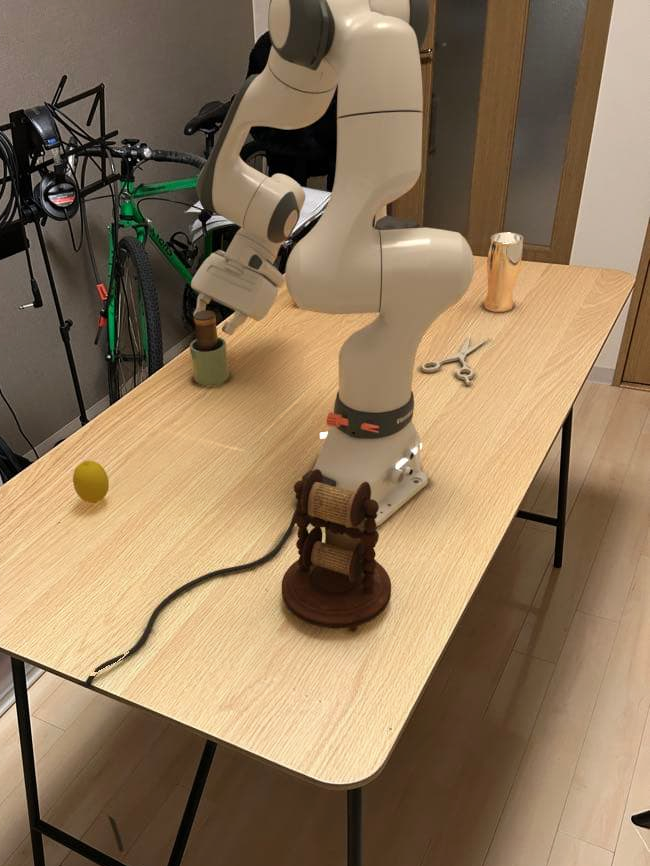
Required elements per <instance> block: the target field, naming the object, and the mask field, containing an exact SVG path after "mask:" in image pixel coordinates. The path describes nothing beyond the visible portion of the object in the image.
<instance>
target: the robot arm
mask: <svg viewBox="0 0 650 866" xmlns="http://www.w3.org/2000/svg"><path fill="white" fill-rule="evenodd" d="M430 9H431V8H430V3H429V0H269V5H268V14H267V15H268V17H267V19H268V20H267V23H268V24H267V25H268V27H267V28H268V35H269V40H270V43H271V46H270V51H269V55H268V59H267V62H266V65H265V67H264V69H263V70H262V71H261V73H255V74H251V75H250V76H248V77H247V79H245V81H244V82H243V83H242V84H241V86H240V87H239V89H238V90H237V92H236V93H235V96H234V98H233V100H232V102H231V105H230V107H229V109H228V111H227V113H226V115H225V118H224V120H223V122H222V125H221V127H220V130H219V132H218V135H217V137H216V139H215V141H214V145H213V147H212V149H211V152H210V154H209V156H208V158H207V160H206V162H205V164H204V165H203V167H202V168H201V171H200V172H199V175H198V177H197V180H196V181H197V182H196V184H195V191H196V194H197V198H198V200H199V203H200V205H201V207H202V208H203V209H204V210H207V211H209V212H210V213H212V214H215V215H218V217H219V216H221V217H223V218H224V219H225V220H227V221H229V222H231V223H233V224H235V225H236V226H238V227H239V229H238V230H237V232H236V233H235V234H234V236H233V238H232V240H231V242H230V243H229V245H228V247H227V249H226V251H224V250H222V249H217V250H216V251H214V252H211V254H210V255H209V256H208V257H207V258H205V260H204V261H203V262H202V263H201V265H200V267H199V268H198V269H197V270H196V273H195V274H194V275H193V277H192V279H191V280H190V281H191V282H190V288H191V289H193V290H194V291H195V292H196V293H198V296H197V299H196V308H195V310H194V312H193V314H192V316H193V317H194V314H195V313H197V312H199V311H204V310H207V309H206V308H207V305H209V304H210V302H211V301H214V302H216V303H218V304H220V305H222V306H225V307H226V308H228V309H231V310H233V311H235V312H234V313H233V315H234V317H232V318H231V319H230V321H225V322H224V324H223V326H222V328H221V331H222V332H224V333H225V334H226V335H228V336H233V334H234V333H235V330H236V329H237V328H239V327H240V326H241V325H242V324H244V323H245V322H246V321H247V320H248V318H250V319H252V320H254V321H256V322H260V321H262V320H264V319H265V318H266V317H267V316H268V314H269V312H270V310H271V308H272V306H273V305H274V303H275V300H276V299H277V296H278V293H279V289H278V288H282V287H283V286H284V284H286V288H287V289H286V290H287V291H288V294H289V296H290V298H291V300H292V301H293V302H294V304H295V305H296V306H297V307H298V309H300V310H301V311H307V312H310V313H311V312H312V313H317V314H323V315H325V314H326V315H330V316H331V315H332V316H333V315H334V316H336V315H355V314H356V315H357V314H376V313H377V314H379V315H378V316H377V317H376V318H375V319H374V320H373V321H371V323H369V324H367V325H365V326H364V327H361V328H360V329H357V330H356V331H354V332H353V333H351V335H349V336H348V338H347V339H346V340H345V341H344V342H343V343H342V346H341V347H340V350H339V353H338V390H337V392H336V396H335V400H334V403H333V412H332V411H330V412H329V413H328V414H327V416H326V421H325V423H326V425H327V426H329V428H328V431H325V432H319V439H324V441H323V444H322V446H321V447H320V450H319V454H318V456H317V458H316V461H315V463H314V466H313V468H312V469H310V470H309V471H308V472H306V473H305V474H303V475H302V476H301V481H305V480H306V478H307V477H308V475H309V474H310V473H311V472H312V471H313V470H315V469H319V470H320V471H321V473H322V479H323V480H322V483H323V484H326V485H330V486H334V487H338V488H341V489H345V490H349V491H353V492H357V490H358V488H359V486H360V485H361V484H362V483H363V482H368V483H369V485H370V488H371V499H373V500H375V501H376V502H377V503H378V505H379V510H378V512H377V518H375V522H376V525H377V527H380V526H381V525H382V524H383V523H384V522H385V521H387V520H388V519H389V518H390V517H391V516H393V514H394V513H396V512H397V511H398V510H400V508H402V507H403V506H404V505H405V504H406V503H407V502H409V501H410V500H411V499H412V498H413V497H414V496H415V495H417V493H419V492H420V491H422V490H423V488H425V487H426V486H427V485H428V483H429V480H428V475H427V474H426V473H425V472H424V471H423V470H421V449H422V447H423V443H421V436H420V434H419V432H418V431H417V429H416V427H415V425H414V423H413V420H412V419H413V417H414V410H415V399H414V397H415V396H414V392H413V390H412V389H413V377H414V369H415V363H416V357H417V352H418V349H419V346H420V344H421V342H422V340H423V338H424V336H425V334H426V333H427V332H428V330H429V328H430V327H431V326H432V325H433V324H434V322H435V321H436V320H437V319H439V317H440V316H441V315H442V314H443V313H445V312H446V311H447V310H449V309H450V308H452V307H453V306H455V305H457V304H458V303H459V302H460V301H461V300H462V299H463V297H464V296H466V293H467V292H468V290H469V288H470V286H471V284H472V281H473V279H474V278H473V277H474V273H475V260H474V254H473V252H472V248H471V246H470V244H469V243H468V241H467V239H466V238H465V237H464V236H463V235H462V234H461V233H460V232H458V231H452V230H446V229H440V228H433V227H420V228H409V229H392V230H378V229H374V226H373V223H374V220H375V215H376V213H377V211H378V210H379V209H380V208H382V207H383V206H385V205H386V206H388V205H389V204H391V203H393V202H394V201H396V200H398V199H400V198H401V197H402V196H404V195H405V194H407V193H408V192H409V191H411V189H412V188H413V187H415V185H416V184H417V182H418V180H419V178H420V176H421V172H422V160H423V159H422V157H423V153H422V151H423V119H424V118H423V117H424V116H423V115H424V113H423V112H424V109H423V108H424V101H423V100H424V95H423V78H422V77H423V74H422V64H421V57H420V51H421V49H422V47H423V45H424V43H425V41H426V38H427V36H428V32H429V28H430V19H431V17H430V16H431V13H430V12H431V10H430ZM336 90H337V98H336V99H337V101H336V159H335V160H336V161H335V172H334V173H335V174H334V181H333V187H332V191H331V195H330V197H329V200H328V202H327V205H326V207H325V209H324V211H323V213H322V215H321V216H320V218H319V219H318V221H317V223H316V224H315V225H314V226H313V227H312V228H311V230H310V231H309V232H308V233H307V234H306V235H305V236H304V237H301V239H300V240H299V241H298V242H297V243H296V244H295V245H294V247H293V248H292V250H291V252H290V253H289V255H288V257H287V261H286V265H285V272H284V273H285V274H284V275H285V276H284V275H283V274H282V273H281V271H279V270H278V268H277V267H276V266H275V265H274V263H275V262H276V259H277V257H278V253H279V250H280V249H281V246H282V245H283V244H284V243H285V242H286V241H287V240H289V238H290V237H291V235H292V233H293V232H294V230H295V228H296V226H297V225H298V222H299V220H300V217H301V211H302V209H303V206H304V203H305V201H306V192H305V190H304V188H303V187H302V186H301V184H300V183H298V181H297V180H295V179H294V178H292V177H291V176H289V175H287V174H284V173H274V174H273V175H271V177H269V176H268V175H265V174H264V173H262V172H261V171H259V170H257V169H255V168H254V167H252V166H250V165H248V164H247V163H246V162H245V161H244V160H243V159H242V158H241V155H240V153H241V151H242V149H243V147H244V144H245V142H246V139H247V137H248V136H249V133H250V132H251V131H250V130H251V128H252V127H268V128H275V129H280V130H297V129H301V128H306V127H308V126H311V125H312V124H315V122H317V121H319V120H320V119H321V118H322V117H323V116H324V115H325V114H326V112H327V110H328V108H329V106H330V104H331V103H332V100H333V98H334V96H335V92H336ZM296 511H297V509H296V508H295V510H294V512H293V514H292V517H291V520H290V524H289V526H288V528H287V529H286V531H285V533H284V534H283V536H282V537H281V539H280V541H279V543H278V544H277V546H275V547H274V548H273V549H272V550H271V551H270V552H269V553H267V554H266V555H264V556H262V557H261V558H259V559H257V560H254V561H251V562H248V563H245V564H241V565H236V566H232V567H225V568H221V569H217V570H214V571H211V572H209V573H206V574H203V575H202V576H199V577H197V578H195V579H193V580H191V581H189V582H187V583H185V584H183V585H181V586H180V587H179V588H177V589H175V590H174V591H173V592H172V593H170V594H169V595H168V596H166V597H165V599H163V600H162V601H161V602H160V603H159V604H158V605H157V606H156V607H155V609H154V610H153V612H151V615H150V618H149V620H148V622H147V624H146V627H145V629H144V630H143V631H144V632H143V633H142V635H141V637H140V638H139V639H138V641H137V642H136V643H135V644H134V646H133V647H131V648H130V649H129V650H127V651H126V652H128V651H129V653H128V654H127V655H126V656H125V657H124V658H123V659H121V660H120V661H118V660H119V659H120V658H122V657H123V656H124V653H122V654H120V655H118V656H117V655H116V657H113V658H111V659H109V660H106V661H105V662H103V663H101V664H100V665H98V666H97V667H96V668H94V670H95V671H94V670H93V671H94V672H98V671H99V670H101V669H103V668H105V667H106V666H108V665H110V666H108V667H111V666H113V665H114V664H113V663H115V662H116V663H115V664H117V663H119V662H121V661H123V660H124V661H125V660H126V659H128V658H129V657H131V656H132V655H134V654H135V653H136V652H138V650H139V649H140V648H141V647H142V646H143V645H144V643H145V642H146V641H147V639H148V637H149V635H150V633H151V631H152V628H153V625H154V623H155V621H156V619H157V617H158V615H159V614H160V612H161V611H162V610H163V609H164V608H165V606H166V605H167V604H169V603H170V602H171V601H172V600H174V598H176V597H178V595H180V594H181V593H183V592H184V591H186V590H188V589H190V588H191V587H193V586H195V585H198V584H200V583H202V582H205V581H207V580H209V579H211V578H214V577H217V576H220V575H224V574H229V573H235V572H239V571H240V572H241V571H244V570H248V569H251V568H255V567H257V566H259V565H261V564H264V563H265V562H266V561H268V560H270V559H271V558H272V557H274V556H275V555H276V554H278V553H279V551H281V549H282V547H283V546H284V545H285V543H286V542H287V540H288V539H289V537H290V535H292V532H293V530H294V528H295V525H296V523H295V522H294V515H295V513H296ZM323 520H324V519H323ZM117 661H118V662H117ZM111 664H112V665H111ZM108 667H107V668H108ZM105 669H106V668H105ZM103 670H104V669H103ZM97 675H98V674H96V675H95V676H90V674H89V676H88V677H87V678H86V680H85V682H84V683H83V688H89V687H90V686H91V684H92V682H93V681H94V679H95V678H96V677H97ZM107 817H108V821H109V823H110V825H111V829H112V833H113V835H114V838H115V841H116V845H117V849H118V851H119V852H120V853H122V852H124V850H125V849H124V846H123V841H122V838H121V835H120V832H119V829H118V825H117V822H116V820H115V819H114V818H113V817H112V816H111V815H109V814H107Z"/></svg>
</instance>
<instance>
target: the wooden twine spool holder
mask: <svg viewBox="0 0 650 866" xmlns="http://www.w3.org/2000/svg"><path fill="white" fill-rule="evenodd" d="M312 470H313V469H312ZM322 480H323V479H322V473H321V471H320V470H319V469H315V470H313V471H312V472H311V473H310V474H309V475H308V477H307V478H306V480H305V481H302V480H298V481H296V482H295V483H294V485H293V492H294V493H295V499H296V501H297V502H296V505H295V510H296V509H297V511H296V513H295V515H294V522H295V525H296V527H297V528H298V530H297V532H296V533H297V534H296V535H297V538H298V539H297V540H296V543H295V545H296V549H298V551H297V554H298V559H296V561H295V562H293V563H292V564H291V565H289V567H288V568H287V570H285V573H284V574H283V577H282V580H281V597H282V600H283V603H284V606H285V608H286V609H287V610H288V611H289V612H290V613H291V614H292V615H293V616H295V617H296V618H297V619H299V620H300V621H301V622H304V623H306V624H308V625H311V626H314V627H317V628H322V629H329V630H345V629H349V630H350V632H352V633H355V632H356V631H357V629H358V627H360V626H363V625H365V624H367V623H369V622H371V621H373V620H375V619H376V618H378V617H379V616H380V615H381V614H382V613H383V612H384V611H385V610H386V608H387V606H388V605H389V603H390V600H391V596H392V581H391V578H390V575H389V574H388V572H387V570H386V569H385V567H383V566H382V564H380V562H378V561H377V560H376V559H375V558H376V551H375V548H376V545H377V543H378V541H379V538H380V533H379V531H378V530H377V527H378V526H377V525H376V522H375V518H377V512H378V510H379V505H378V503H377V502H376V501H375V500H373V499H371V488H370V485H369V483H368V482H363V483H362V484H361V485H360V486H359V488H358V490H357V492H353V491H349V490H345V489H341V488H338V487H334V486H330V485H326V484H323V483H322ZM323 519H324V520H323ZM310 525H311V527H312V529H311V530H310V531H309V530H308V527H309V526H310ZM322 528H324V533H325V534H324V535H325V536H324V542H323V529H322Z"/></svg>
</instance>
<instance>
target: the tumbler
mask: <svg viewBox="0 0 650 866" xmlns="http://www.w3.org/2000/svg"><path fill="white" fill-rule="evenodd" d="M217 338H218V348H219V349H217V350H214V351H208V352H201V351H198V345H197V338H196V339H194V340H193V341H191V343H190V344H189V353H190V360H191V361H190V362H191V370H192V376H193V377H192V378H193V380H194V381H195V382H196V383H197V384H200V385H203V386H214V385H219V384H222V383H224V382H225V381H226V380H228V378H229V376H230V371H229V358H228V349H227V342H226V339H224V338H222V337H221V336H217Z"/></svg>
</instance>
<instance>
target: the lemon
mask: <svg viewBox="0 0 650 866" xmlns="http://www.w3.org/2000/svg"><path fill="white" fill-rule="evenodd" d="M72 482H73V488H74V490H75V493H76V495H77V496H78V497H79V499H81V500H82V501H84V502H87V503H94V504H96V503H98V502H100V501H102V500H103V499H104V498H105V497H106V496H107V494H108V491H109V487H110V486H109V484H110V483H109V482H110V481H109V476H108V474H107V472H106V470H105V468H104V466H102V465H101V464H100V463H98V461H94V460H84V461H81V462H80V463H79V464H78V465H76V467H75V468H74V471H73V475H72Z"/></svg>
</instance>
